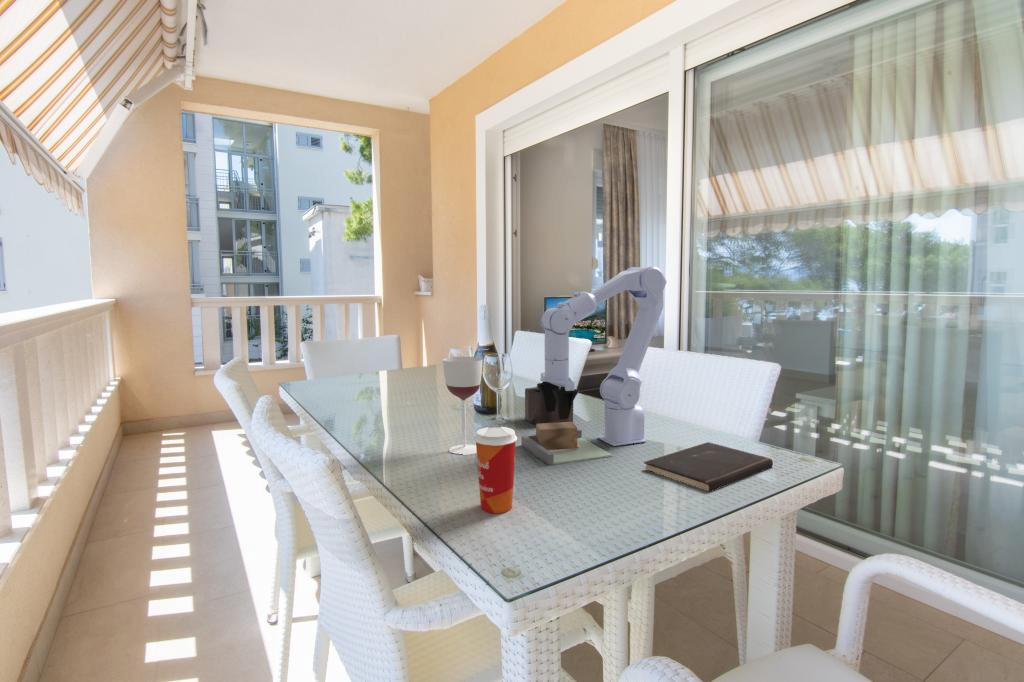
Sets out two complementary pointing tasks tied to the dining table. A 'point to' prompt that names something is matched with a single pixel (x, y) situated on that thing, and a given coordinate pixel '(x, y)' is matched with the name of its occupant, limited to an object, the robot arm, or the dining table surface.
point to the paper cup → (496, 468)
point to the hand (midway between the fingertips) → (556, 415)
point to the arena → (564, 451)
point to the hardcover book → (708, 465)
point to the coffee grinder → (541, 408)
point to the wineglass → (463, 389)
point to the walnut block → (557, 435)
